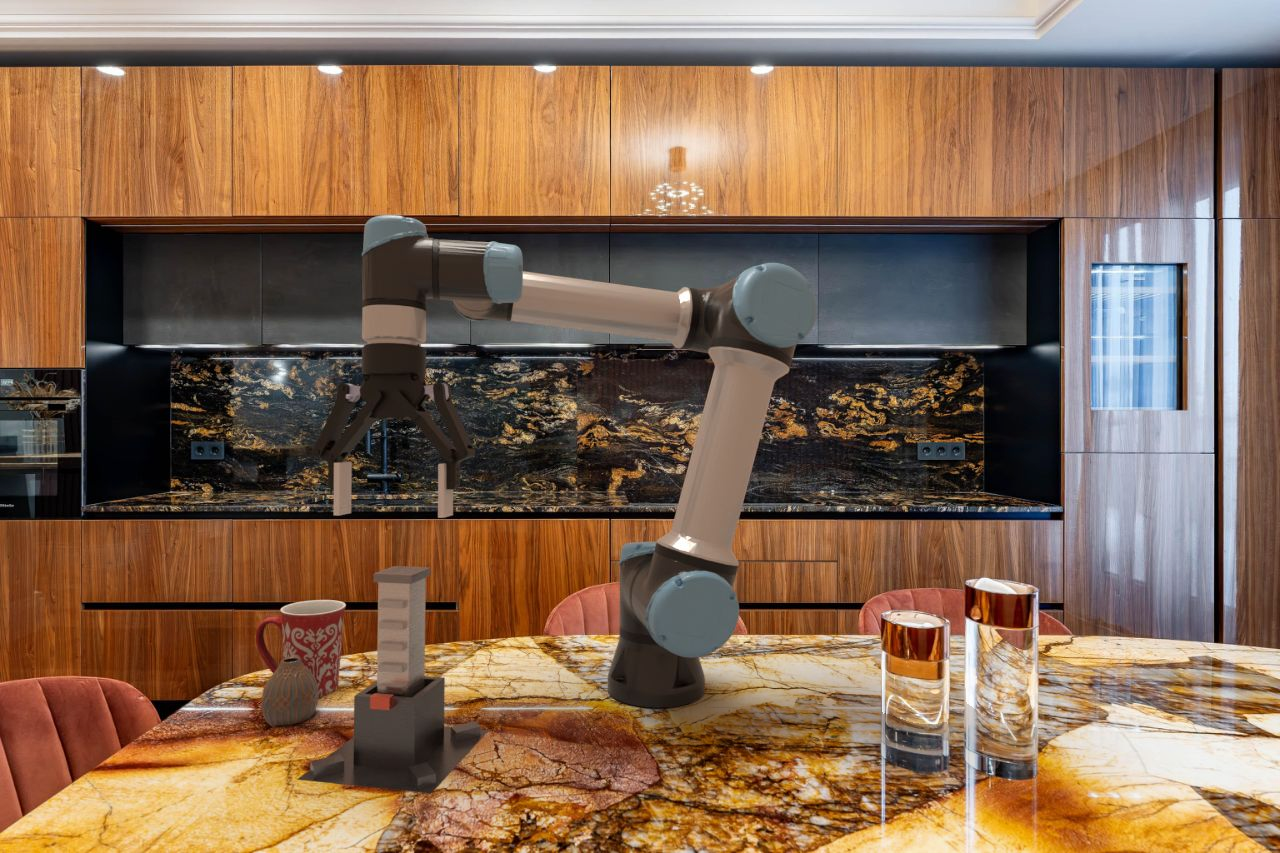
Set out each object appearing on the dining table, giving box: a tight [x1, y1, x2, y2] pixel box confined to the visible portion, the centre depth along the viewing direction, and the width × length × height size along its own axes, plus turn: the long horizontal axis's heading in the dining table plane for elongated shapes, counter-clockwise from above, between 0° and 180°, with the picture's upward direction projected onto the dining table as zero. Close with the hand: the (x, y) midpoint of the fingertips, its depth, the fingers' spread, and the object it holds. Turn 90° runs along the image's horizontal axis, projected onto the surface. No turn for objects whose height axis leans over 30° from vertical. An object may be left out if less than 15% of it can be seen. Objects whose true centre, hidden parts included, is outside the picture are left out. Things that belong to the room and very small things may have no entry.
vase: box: [261, 657, 319, 728], centre depth 94 cm, size 7×7×9 cm
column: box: [373, 565, 431, 698], centre depth 83 cm, size 5×5×22 cm
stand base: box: [297, 675, 489, 794], centre depth 84 cm, size 16×16×10 cm
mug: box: [255, 599, 347, 701], centre depth 104 cm, size 13×9×14 cm
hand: (393, 515), depth 86 cm, fingers open, 13 cm apart
